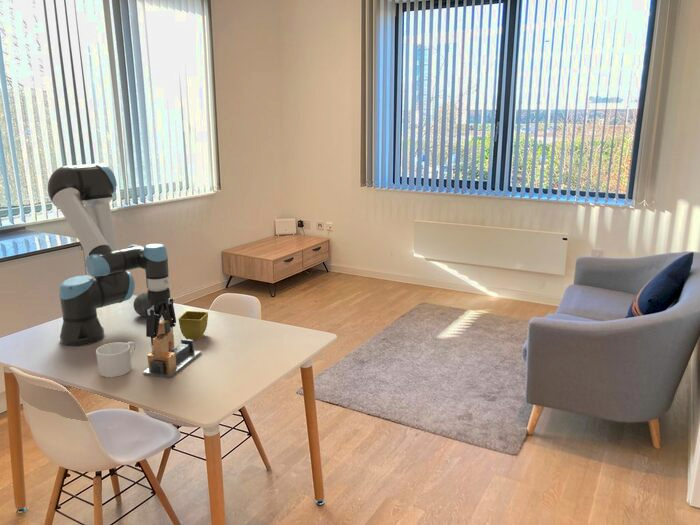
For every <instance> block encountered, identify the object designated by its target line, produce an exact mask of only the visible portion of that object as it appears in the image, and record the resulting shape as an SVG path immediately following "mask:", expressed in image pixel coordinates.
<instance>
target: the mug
mask: <svg viewBox="0 0 700 525" xmlns="http://www.w3.org/2000/svg"><path fill="white" fill-rule="evenodd" d="M135 349H136V345H135V343H134V342H133V341H128V342H121V341H119V342H118V341H115V342H109V343H105V344H102V345H100V346H98V347H97V348H96V350H95V355H96V360H97V366H98V371H99V375H100V376H102V377H104V376H105V377H104V378H117V377H121V376H124V375H127V374H128V373H129V372H130V371H131V370H132V361H131V360H132V358H131V357H132V356H133V354H134V352H135ZM116 376H117V377H116Z"/></svg>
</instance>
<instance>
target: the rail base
mask: <svg viewBox="0 0 700 525" xmlns="http://www.w3.org/2000/svg"><path fill="white" fill-rule="evenodd" d="M152 340H153V352H152V351H151V352H149V354H147V364H148V365H147V366H148V367H147V368H146V369H145V370H144V371H143V372H142V373H143V375H144V376H150V377H157V378H163V379H172V378H174V376H176V375H177V374H178V373H179V372H181V371H182V370H183V369H184V368H185V367H187V366H188V365H189V364H191V363H192V362H193V361H194V360H196V359H197V358H199V356H201V355H202V350H195V343H194V340H195V339H186V338H181V339H180V344H179V345H177V346H175V347H174V349H172V350H170V349H169V348H168V346H169V344H168V335H167V334H159V335H158V336H156V337H155V338H153V339H152ZM169 350H170V351H169Z"/></svg>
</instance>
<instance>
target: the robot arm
mask: <svg viewBox="0 0 700 525" xmlns="http://www.w3.org/2000/svg"><path fill="white" fill-rule="evenodd" d="M117 186H118V184H117V179H116V176H115V174H114V172H113V170H112V169H111V168H110V167H109V166H108V165H106V164H104V163H88V164H87V163H86V164H75V165H74V164H73V165H72V164H71V165H63V166H60V167H58V168H57V169H56V170H53V172H52V174H50V177H49V179H48V183H47V194H48V197H49V199H50V201H51V202H52V204H53V206H55V207H56V208H59V210H60V212H61V214H62V215H63V216H64V217H63V218H65V220H66V222H67V223H68V225H69V227H70V229H71V230H72V232H73V233H74V235H75V236H76V238H77V240H78V242H79V243H80V245H81V246H82V248H83V250H84V251H85V253H86V254H87V257H86V259H85V268H86V270H87V272H88V274H85V275H84V274H83V275H75V276H72V277H70V278H67V279H65V280H63V281H62V282H61V283H60V284H59V288H58V290H59V300H60V308H61V315H62V325H61V330H60V334H59V339H60V340H59V341H60V343H61V345H65V346H69V347H70V346H71V347H75V346H76V347H77V346H79V347H80V346H86V345H90V344H95V343H96V342H99V341H101V340H102V339H103V338H104V337H105V330H104V327H103V326H102V325H101V322H100V320H99V317H98V311H97V309H100V308H103V307H107V306H111V305H115V304H121V303H123V302H126V301H128V300H130V299H131V298H132V297H133V295H134V293H135V288H136V287H135V278H134V277H133V273H131V272H130V271H131V270H135V269H143V270H145V282H146V289H147V291H146V293H147V294H148V300H150V301H151V308H150V309H146V317H145V318H146V320H145V322H146V325H145V327H146V328H145V330H146V332H145V335H146V337H147V338H150V344H151V352H153V340H152V339H153V338H155V337H156V336H157V335H158V329H159V322H160V320H161V319H162V320H166V321H170V332H169V333H170V334H173V335H174V328H175V327H176V323H177V319H176V312H175V307H174V298H171V288H170V277H169V259H168V258H169V256H168V251H167V246H166V245H165V244H163V243H149V244H146V245H141V244H130V245H128V246H127V247H126V248H123V249H118V242H117V237H116V233H115V227H114V221H113V216H112V211H111V210H112V209H111V203H110V202H112V199H113V194H114V193H115V192H116V191H117Z"/></svg>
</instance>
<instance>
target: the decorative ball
mask: <svg viewBox="0 0 700 525" xmlns="http://www.w3.org/2000/svg"><path fill="white" fill-rule="evenodd" d="M150 308H151V301H150V300H148V294H147V292H142V293H140V294H138V295H137V296H136V297H135V299H134V301H133V309H134V311H135V313H136V314H138V315H139V316H142V317H145V318H146V309H150Z"/></svg>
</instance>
